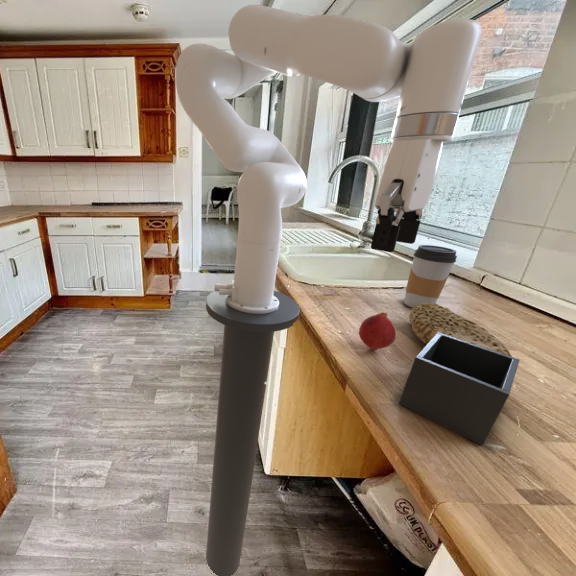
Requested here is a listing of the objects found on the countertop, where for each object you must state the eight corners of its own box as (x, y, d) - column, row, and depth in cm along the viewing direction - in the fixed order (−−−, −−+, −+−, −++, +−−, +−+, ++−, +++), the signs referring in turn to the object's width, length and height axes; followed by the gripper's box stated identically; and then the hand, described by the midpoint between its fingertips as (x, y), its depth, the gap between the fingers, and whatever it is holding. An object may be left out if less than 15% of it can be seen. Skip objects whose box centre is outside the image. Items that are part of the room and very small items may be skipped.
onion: (361, 356, 56) (372, 317, 53) (351, 339, 62) (360, 303, 59) (395, 359, 56) (408, 320, 53) (382, 342, 61) (393, 306, 58)
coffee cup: (440, 315, 73) (463, 255, 68) (399, 307, 77) (417, 249, 72) (435, 303, 80) (455, 247, 75) (398, 296, 84) (414, 242, 78)
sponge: (398, 325, 70) (415, 351, 53) (414, 295, 68) (438, 311, 51) (465, 352, 65) (509, 390, 48) (485, 319, 63) (539, 346, 46)
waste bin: (482, 446, 38) (509, 394, 35) (398, 403, 45) (415, 357, 42) (496, 405, 45) (520, 359, 42) (422, 373, 52) (437, 332, 49)
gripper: (411, 137, 53) (387, 236, 59) (370, 127, 42) (346, 249, 48) (467, 134, 47) (435, 243, 53) (436, 122, 37) (400, 259, 43)
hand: (393, 246), depth 51 cm, fingers open, 9 cm apart
